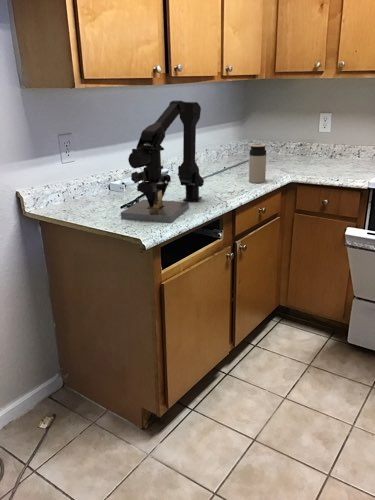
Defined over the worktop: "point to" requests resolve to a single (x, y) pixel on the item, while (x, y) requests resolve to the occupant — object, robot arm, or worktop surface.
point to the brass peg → (158, 201)
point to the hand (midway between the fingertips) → (155, 204)
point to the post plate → (155, 211)
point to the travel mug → (257, 163)
